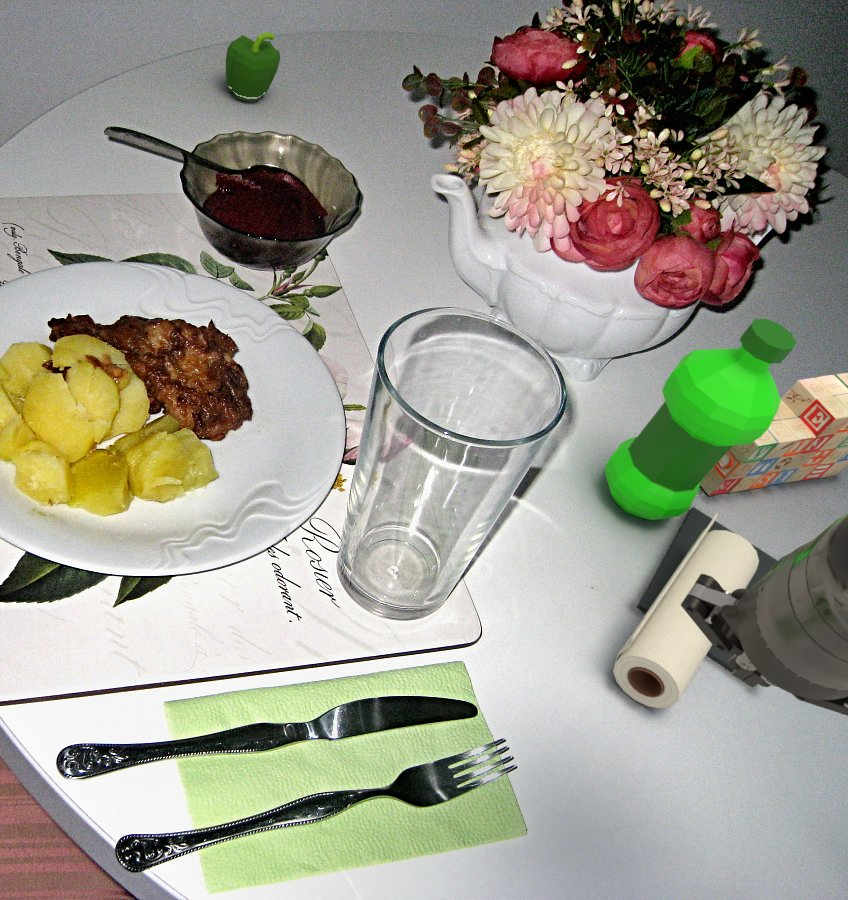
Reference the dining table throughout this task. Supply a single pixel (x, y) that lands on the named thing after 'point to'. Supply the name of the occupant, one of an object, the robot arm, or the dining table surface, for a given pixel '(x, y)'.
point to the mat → (676, 554)
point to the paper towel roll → (680, 621)
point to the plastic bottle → (699, 422)
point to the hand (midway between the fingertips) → (748, 669)
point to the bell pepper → (251, 66)
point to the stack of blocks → (791, 441)
